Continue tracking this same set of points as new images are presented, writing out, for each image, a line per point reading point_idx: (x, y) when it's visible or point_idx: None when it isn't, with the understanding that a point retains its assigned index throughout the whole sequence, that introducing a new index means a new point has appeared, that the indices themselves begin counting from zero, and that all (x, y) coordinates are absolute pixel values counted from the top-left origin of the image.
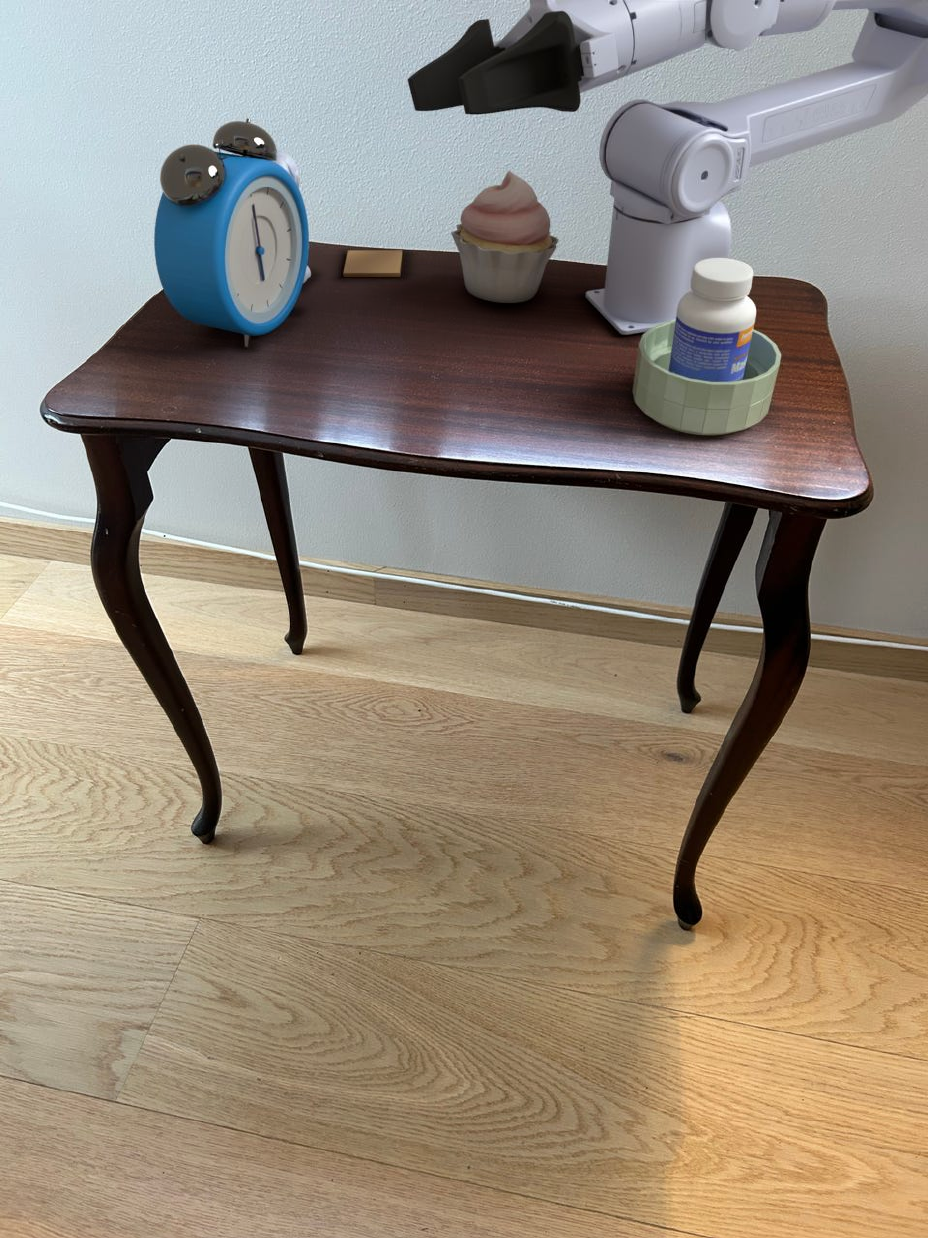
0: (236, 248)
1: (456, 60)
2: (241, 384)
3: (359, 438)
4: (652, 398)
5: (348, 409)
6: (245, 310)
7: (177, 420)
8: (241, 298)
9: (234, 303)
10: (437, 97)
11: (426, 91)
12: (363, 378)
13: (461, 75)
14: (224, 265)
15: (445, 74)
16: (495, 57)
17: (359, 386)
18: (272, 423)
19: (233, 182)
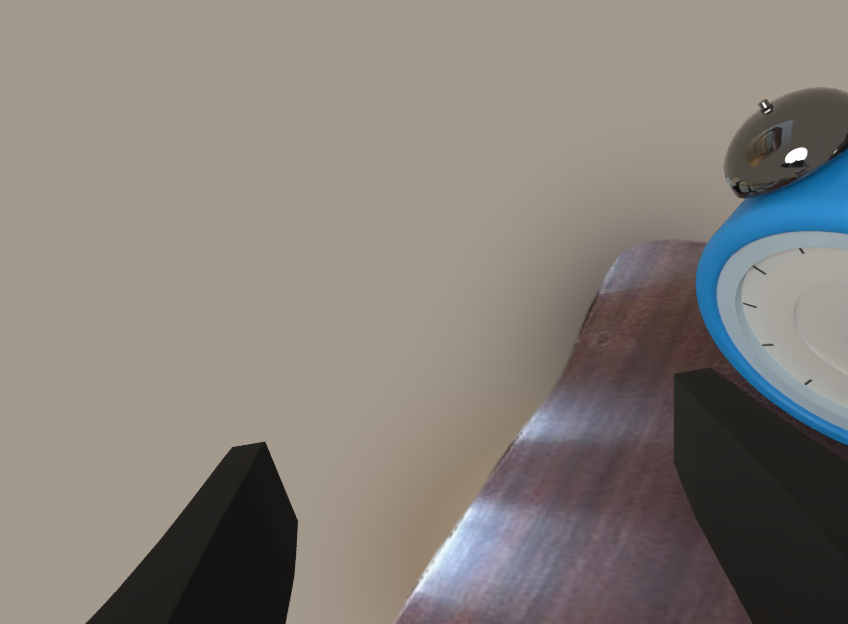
0: (784, 294)
1: (801, 549)
2: (653, 408)
3: (458, 554)
4: None
5: (540, 549)
6: (765, 369)
7: (573, 349)
8: (781, 354)
9: (737, 344)
10: (714, 515)
11: (690, 455)
12: (637, 587)
13: (799, 610)
14: (707, 289)
15: (749, 512)
16: (168, 543)
17: (609, 576)
18: (533, 448)
19: (779, 205)
